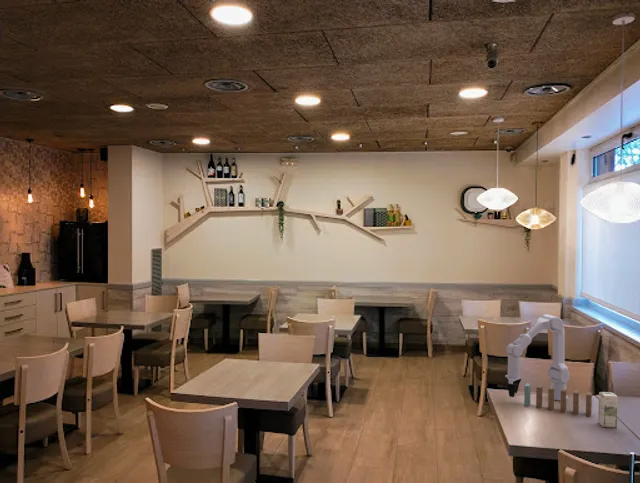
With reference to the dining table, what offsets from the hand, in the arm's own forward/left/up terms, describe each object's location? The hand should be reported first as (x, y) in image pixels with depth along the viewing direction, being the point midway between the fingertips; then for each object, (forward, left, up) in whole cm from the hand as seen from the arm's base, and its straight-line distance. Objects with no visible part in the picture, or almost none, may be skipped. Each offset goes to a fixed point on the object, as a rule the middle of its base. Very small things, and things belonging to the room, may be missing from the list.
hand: (513, 394), depth 274 cm
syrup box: (+11, +43, -4) cm, 44 cm away
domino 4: (0, +23, -4) cm, 24 cm away
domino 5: (0, +29, -4) cm, 29 cm away
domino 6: (0, +34, -4) cm, 35 cm away
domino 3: (0, +18, -4) cm, 18 cm away
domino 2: (0, +12, -4) cm, 13 cm away
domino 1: (0, +7, -4) cm, 8 cm away
